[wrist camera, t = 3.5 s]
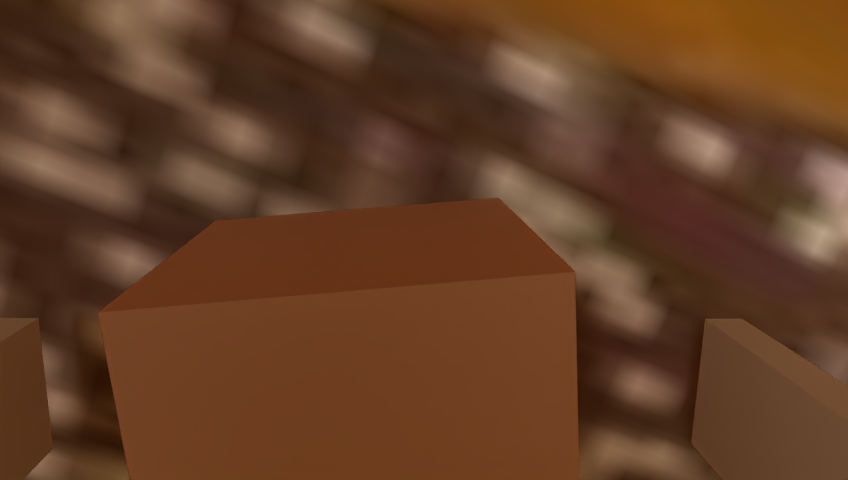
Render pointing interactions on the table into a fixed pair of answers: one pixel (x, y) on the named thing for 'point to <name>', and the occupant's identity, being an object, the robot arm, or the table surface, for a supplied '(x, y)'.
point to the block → (351, 350)
